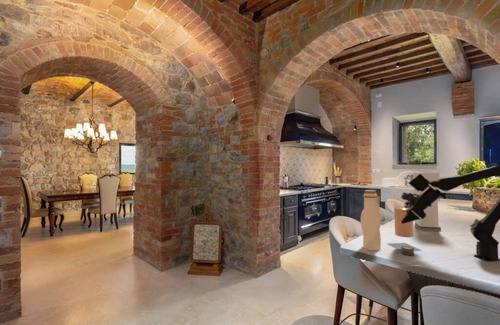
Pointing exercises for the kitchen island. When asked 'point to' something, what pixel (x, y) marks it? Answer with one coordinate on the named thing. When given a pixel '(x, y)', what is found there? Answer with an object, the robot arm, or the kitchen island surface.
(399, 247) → the slate mat
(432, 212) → the tall white column
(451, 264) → the kitchen island surface
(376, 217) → the water bottle
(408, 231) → the brown tapered cup
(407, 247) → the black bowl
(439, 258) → the kitchen island surface
